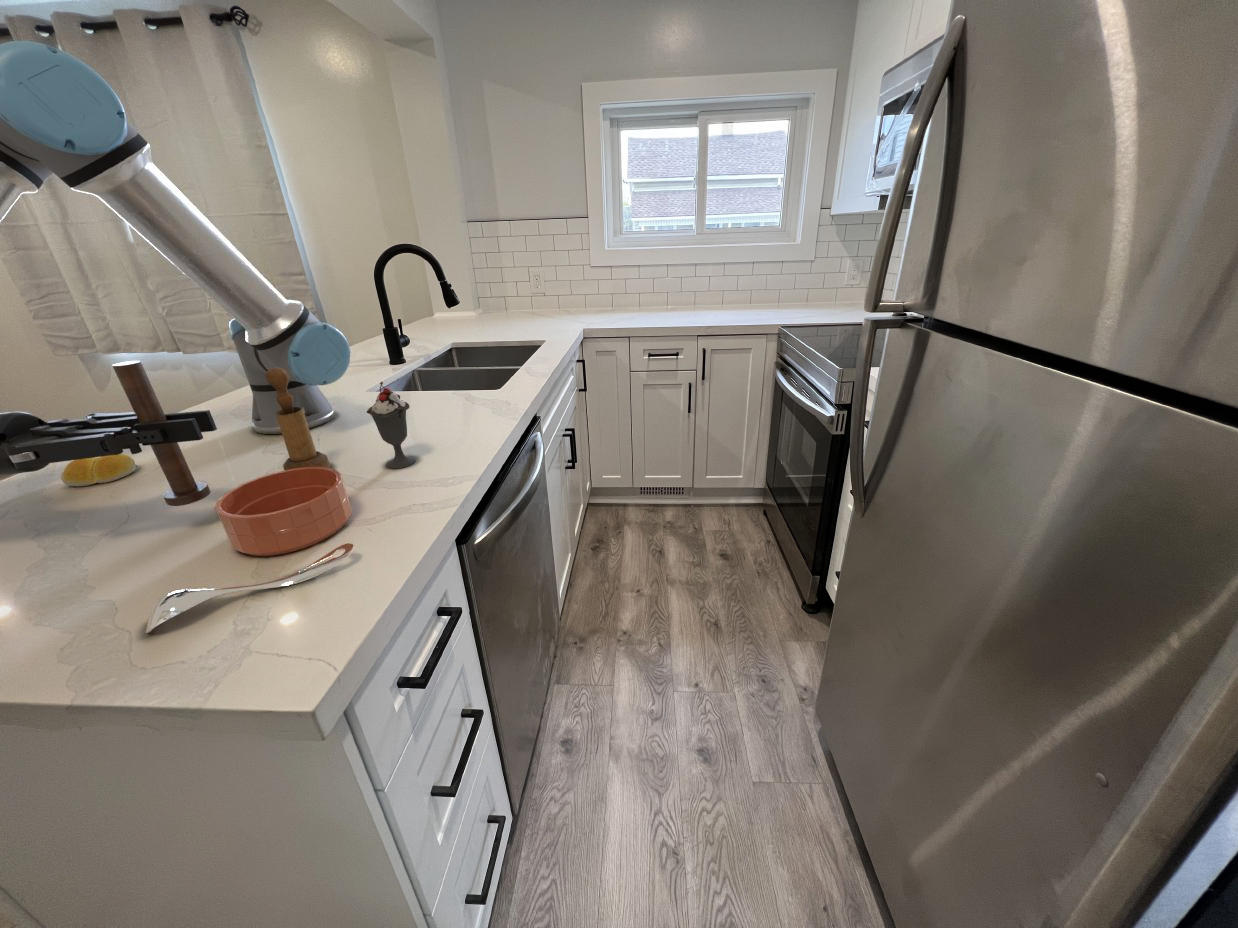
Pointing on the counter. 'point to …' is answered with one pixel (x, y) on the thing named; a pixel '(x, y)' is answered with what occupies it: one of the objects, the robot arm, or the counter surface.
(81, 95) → the robot arm
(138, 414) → the stick
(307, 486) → the bowl
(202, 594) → the metal spatula
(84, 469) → the bread roll
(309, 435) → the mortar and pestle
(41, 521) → the counter surface
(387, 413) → the sundae
